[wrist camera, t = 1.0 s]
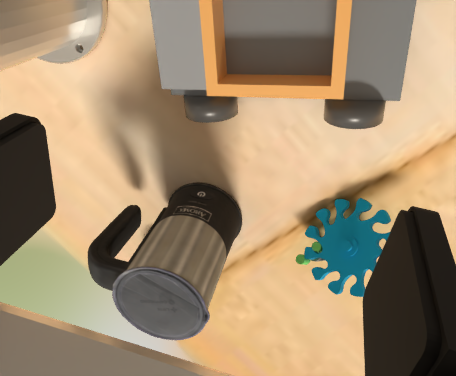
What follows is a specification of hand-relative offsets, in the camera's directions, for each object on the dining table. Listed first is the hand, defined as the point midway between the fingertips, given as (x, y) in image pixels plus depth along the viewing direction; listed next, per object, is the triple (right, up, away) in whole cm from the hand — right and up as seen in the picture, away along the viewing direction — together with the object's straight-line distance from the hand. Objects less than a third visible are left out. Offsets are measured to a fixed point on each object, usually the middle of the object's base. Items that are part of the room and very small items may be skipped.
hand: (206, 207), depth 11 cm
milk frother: (-4, -6, +41) cm, 41 cm away
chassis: (+5, +16, +25) cm, 30 cm away
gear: (+14, -4, +34) cm, 37 cm away
